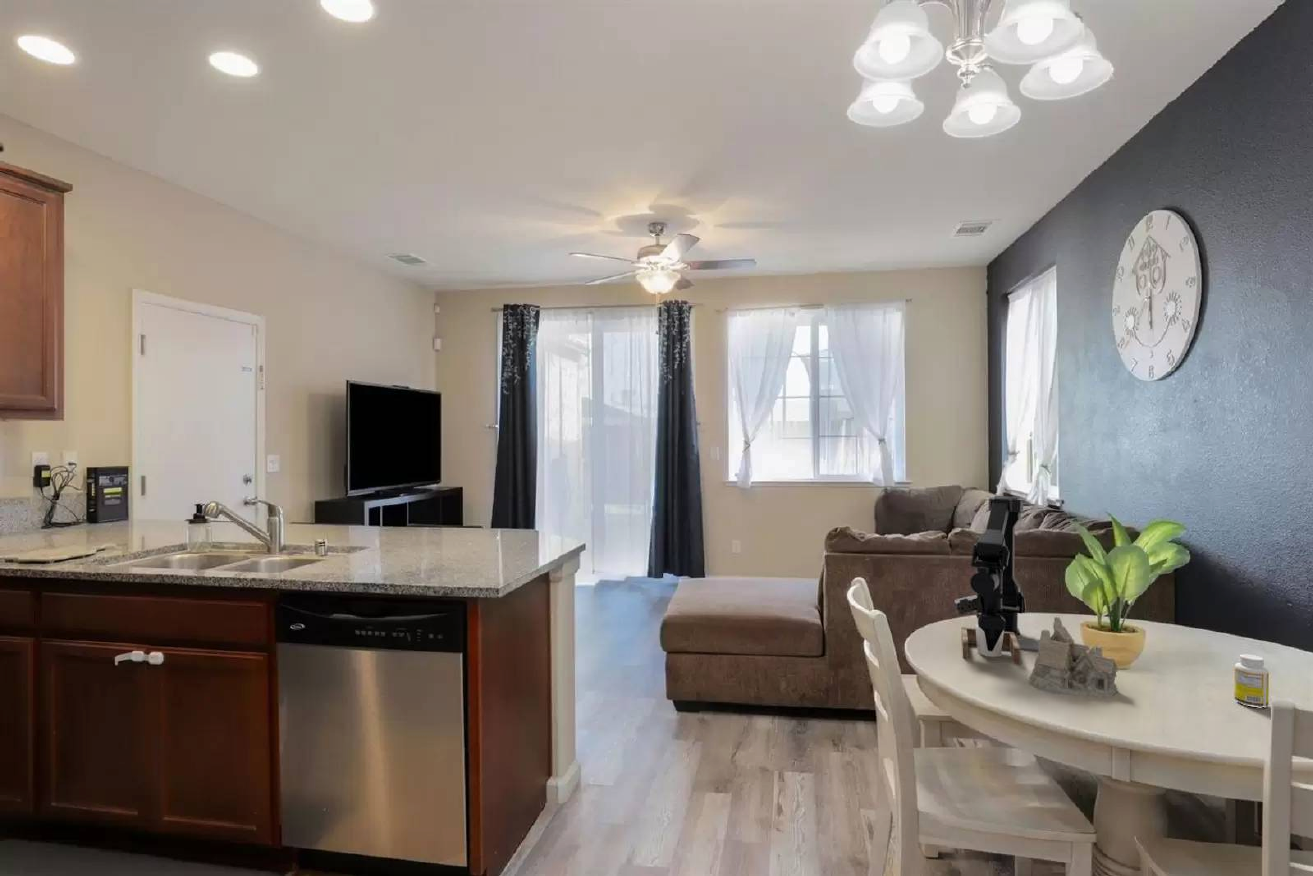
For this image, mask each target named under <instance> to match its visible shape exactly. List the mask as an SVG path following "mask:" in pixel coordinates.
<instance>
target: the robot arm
mask: <svg viewBox="0 0 1313 876" xmlns="http://www.w3.org/2000/svg"><path fill="white" fill-rule="evenodd" d="M987 508H988V511H989V516H988V520H987V525H986V527H985V531H984V532H983V533H981V534H980V535H979V536H978V538H977V541H976V543H974V545H973V551H972V558H971V563H970V564H971V565H970V567H972V568H977V571H976V572H975V573H974V574H973V575H972V576H971V578H970V582H969V585H970V587H971V589H972V590H973V592H974V593H976V594H975V595H969V596H965V597H960V598H957V599H955V600H954V604H955V605H954V606H955V608H956V610H957V613H958V615H965V614H967V613H971V612H974V611H975V613H976V619H977V624H978V627H980V628H981V629H982V630H983V631H984V633H985V638H986V644H987V649H988V651H993V649H994V647H995V645H996V643H997V641H998V639H999V637H1000V635H1001V634H1002V632H1003V630H1004V632H1014V634H1015V635H1021V632H1020V629H1019V626H1018V625H1019V614H1026V613H1027V611H1026V609H1027V607H1026V598H1025V596H1024V594H1023V592H1022V590H1021V584H1020V582H1019V581H1018V580H1017V578H1016V576H1015V551H1016V550H1015V540H1016V539H1015V535H1016V534H1015V533H1016V529H1015V528H1016V526H1017V524H1018V522H1019V521H1020V520H1021V518H1022V514H1023V512H1024V501H1023V500H1021V499H1020V498H1019V497H1018V496H1005V495H1004V496H1002V495H995V496H994V497H991V498H988V507H987Z"/></svg>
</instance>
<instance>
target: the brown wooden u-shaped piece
mask: <svg viewBox="0 0 1313 876" xmlns="http://www.w3.org/2000/svg"><path fill="white" fill-rule="evenodd" d="M1016 638H1017V637H1016V634H1014V632H1004V635H1003V643H1002V648H1006V649H1009V651H1010V654H1011V658H1012V661H1013V664H1014V665H1020V663H1021V658H1020V657H1021V655H1020V654H1021V650H1020V648H1019V645H1018V642H1017V639H1018V638H1017V639H1016ZM969 644H973V645H977V641H976V629H975V627H966V626H964V627H963V626H961V652H962V658H963V659H969Z"/></svg>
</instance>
